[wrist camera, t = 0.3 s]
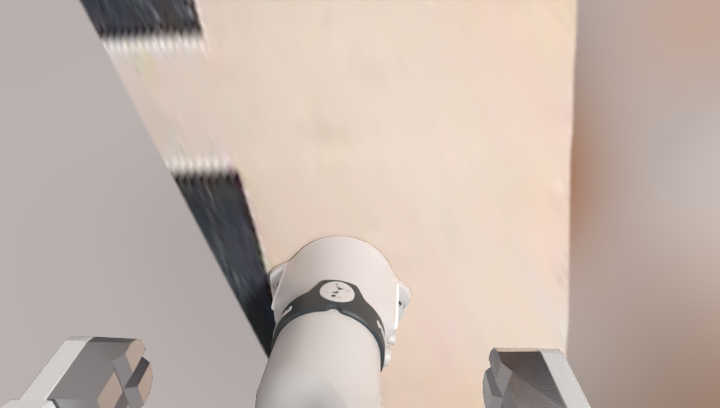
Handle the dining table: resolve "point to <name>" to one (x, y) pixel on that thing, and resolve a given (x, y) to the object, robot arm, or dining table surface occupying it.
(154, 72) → the dining table surface
